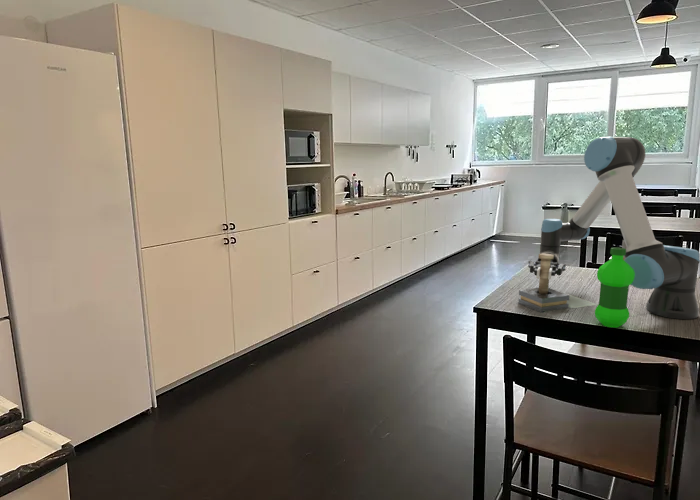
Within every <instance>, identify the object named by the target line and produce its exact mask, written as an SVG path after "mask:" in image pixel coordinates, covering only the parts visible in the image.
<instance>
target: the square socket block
mask: <svg viewBox="0 0 700 500" xmlns="http://www.w3.org/2000/svg"><path fill="white" fill-rule="evenodd" d="M538 292H539V287H533V288H524V289H519V290H518V296H520V297H518V301H517V302H518V304H519V305H522V306H524V307H527V308H530V309H532V310H534V311H537V312H539V313H545V312H549V311H554V310H556V311H557V310H562V309H569V308H570V307H569V304H568V303H567V300H569V295H570V294H567V293H564V292H561V291H558V290H555V289H553V288H549V287H548V294H546V295H542V294H539V293H538Z"/></svg>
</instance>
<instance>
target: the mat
mask: <svg viewBox="0 0 700 500" xmlns="http://www.w3.org/2000/svg"><path fill="white" fill-rule="evenodd" d="M568 295H569V300H567V303H568V304H569V307H568V308H571V309H577V308H584V307H591V306H598V305H599V303H596V302H592V301H589V300H586V299H583V298H580V297H578V296H574V295H571V294H568Z"/></svg>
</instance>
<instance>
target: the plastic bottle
mask: <svg viewBox="0 0 700 500" xmlns="http://www.w3.org/2000/svg"><path fill="white" fill-rule="evenodd" d="M609 254H610V255H611V258H610V259H608V260H607V261H606V262H604V263H603V264H602V265H600V266H599V268H598V270H597V272H596V276H597V277H596V278H597V280H598V281H599V282H600V289H599V299H598V305H596V308H595V309H594V316H595V318H596V319H597V321H598V322H599V323H600V324H601V325H602V326H603V327H607V328H616V329H617V328H619V327H621V326H623V325H625V324H626V323H627V322H628V319H629V318H630V312H629V311H630V310H629V308H628V299H629V298H628V296H629V289H630V286H631V285H630V284H632V282H633V280H634V278H635V272H634V269H633V268H632V267H631V266H630V265H629V264H628V263H626V262H625V261H624V260H623V256H624V255H626V249H625V248H622V247H616V246H615V247H611V248H610V251H609Z"/></svg>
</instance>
